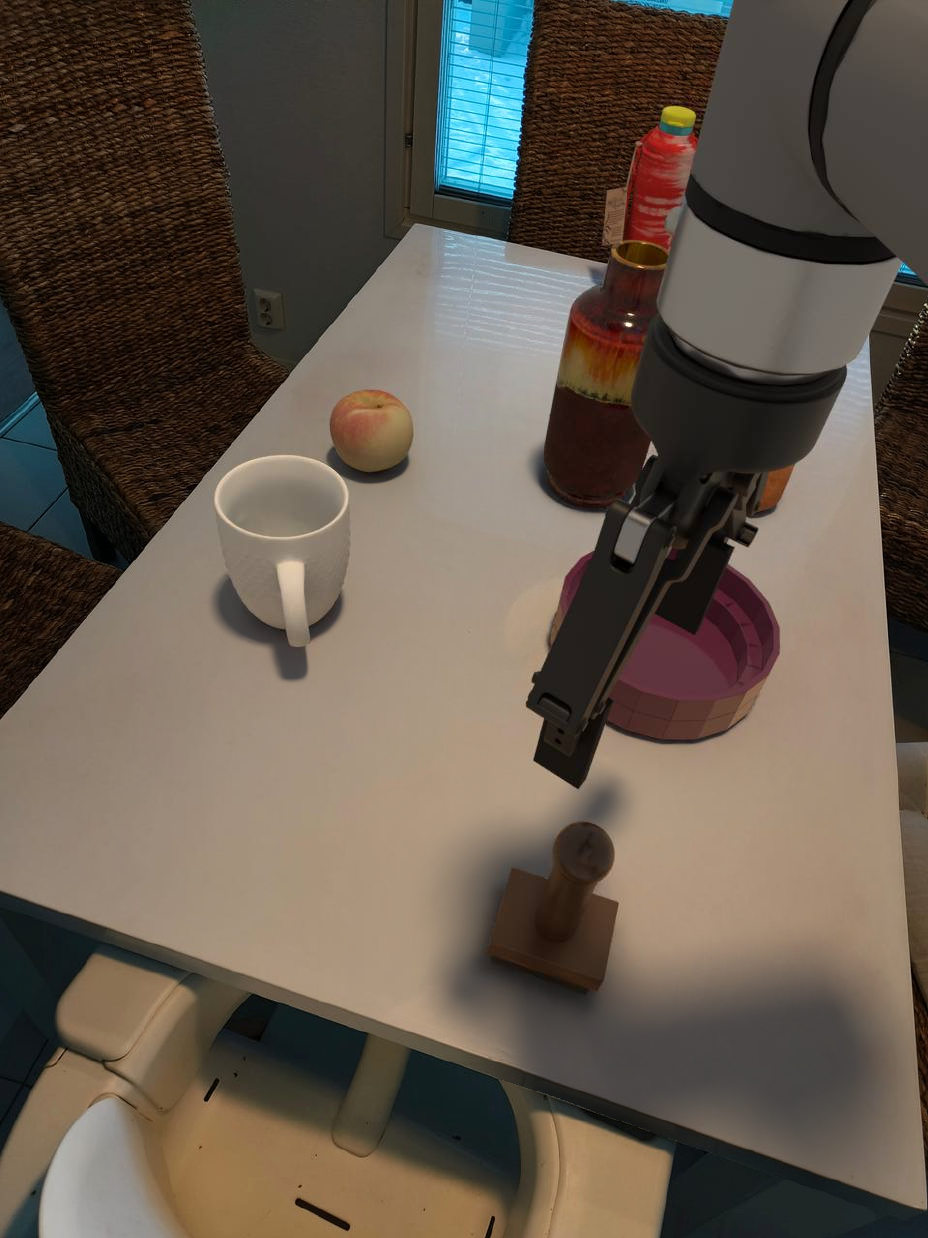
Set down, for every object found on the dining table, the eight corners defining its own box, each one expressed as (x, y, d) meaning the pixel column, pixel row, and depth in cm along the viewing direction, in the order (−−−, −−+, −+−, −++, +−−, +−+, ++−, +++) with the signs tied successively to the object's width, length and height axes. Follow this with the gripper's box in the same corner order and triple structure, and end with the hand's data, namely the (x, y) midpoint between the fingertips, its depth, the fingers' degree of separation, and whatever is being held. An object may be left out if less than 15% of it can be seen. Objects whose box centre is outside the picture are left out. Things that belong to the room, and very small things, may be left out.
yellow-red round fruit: (316, 462, 94) (313, 400, 88) (368, 428, 99) (369, 367, 93) (377, 496, 91) (378, 434, 85) (427, 459, 96) (432, 398, 90)
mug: (366, 674, 74) (366, 566, 65) (236, 690, 72) (217, 580, 62) (342, 558, 84) (340, 449, 74) (227, 569, 81) (210, 457, 72)
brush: (606, 926, 61) (662, 817, 50) (591, 1003, 57) (647, 904, 46) (504, 892, 62) (536, 777, 51) (483, 965, 58) (512, 859, 47)
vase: (522, 461, 97) (561, 230, 78) (607, 447, 101) (665, 223, 82) (563, 522, 91) (617, 286, 72) (653, 505, 94) (727, 276, 75)
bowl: (798, 711, 76) (825, 668, 71) (611, 769, 70) (628, 726, 65) (685, 568, 88) (702, 523, 83) (516, 607, 82) (525, 561, 77)
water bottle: (582, 292, 128) (619, 106, 109) (592, 271, 133) (628, 90, 115) (661, 310, 126) (712, 124, 108) (668, 287, 131) (717, 106, 113)
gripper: (779, 211, 40) (663, 545, 56) (475, 435, 26) (432, 805, 41) (938, 264, 38) (770, 599, 53) (701, 547, 23) (564, 898, 38)
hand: (623, 689), depth 47 cm, fingers open, 13 cm apart
